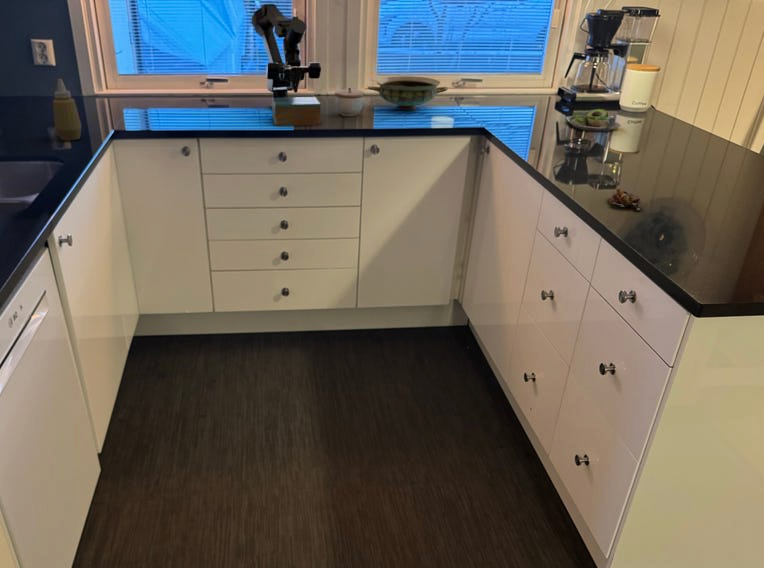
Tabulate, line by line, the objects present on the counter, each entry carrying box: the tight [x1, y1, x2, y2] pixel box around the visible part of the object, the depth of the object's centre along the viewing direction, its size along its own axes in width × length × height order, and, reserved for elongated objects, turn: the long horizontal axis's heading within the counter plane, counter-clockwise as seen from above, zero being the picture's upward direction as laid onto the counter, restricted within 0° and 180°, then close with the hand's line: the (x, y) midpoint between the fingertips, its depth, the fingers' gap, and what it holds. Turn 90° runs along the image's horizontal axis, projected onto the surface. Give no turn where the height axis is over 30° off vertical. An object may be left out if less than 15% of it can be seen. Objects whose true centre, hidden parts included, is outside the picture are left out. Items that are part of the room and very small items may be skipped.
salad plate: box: [565, 108, 621, 132], centre depth 240 cm, size 19×18×5 cm
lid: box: [271, 96, 322, 107], centre depth 241 cm, size 13×16×1 cm
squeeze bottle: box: [52, 78, 82, 142], centre depth 216 cm, size 8×8×18 cm
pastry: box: [608, 187, 641, 212], centre depth 171 cm, size 7×12×4 cm, turn 164°
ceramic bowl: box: [367, 75, 449, 111], centre depth 262 cm, size 30×24×10 cm
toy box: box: [271, 100, 321, 127], centre depth 243 cm, size 12×16×6 cm
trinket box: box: [334, 87, 365, 117], centre depth 253 cm, size 11×11×9 cm
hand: (295, 92), depth 238 cm, fingers closed
